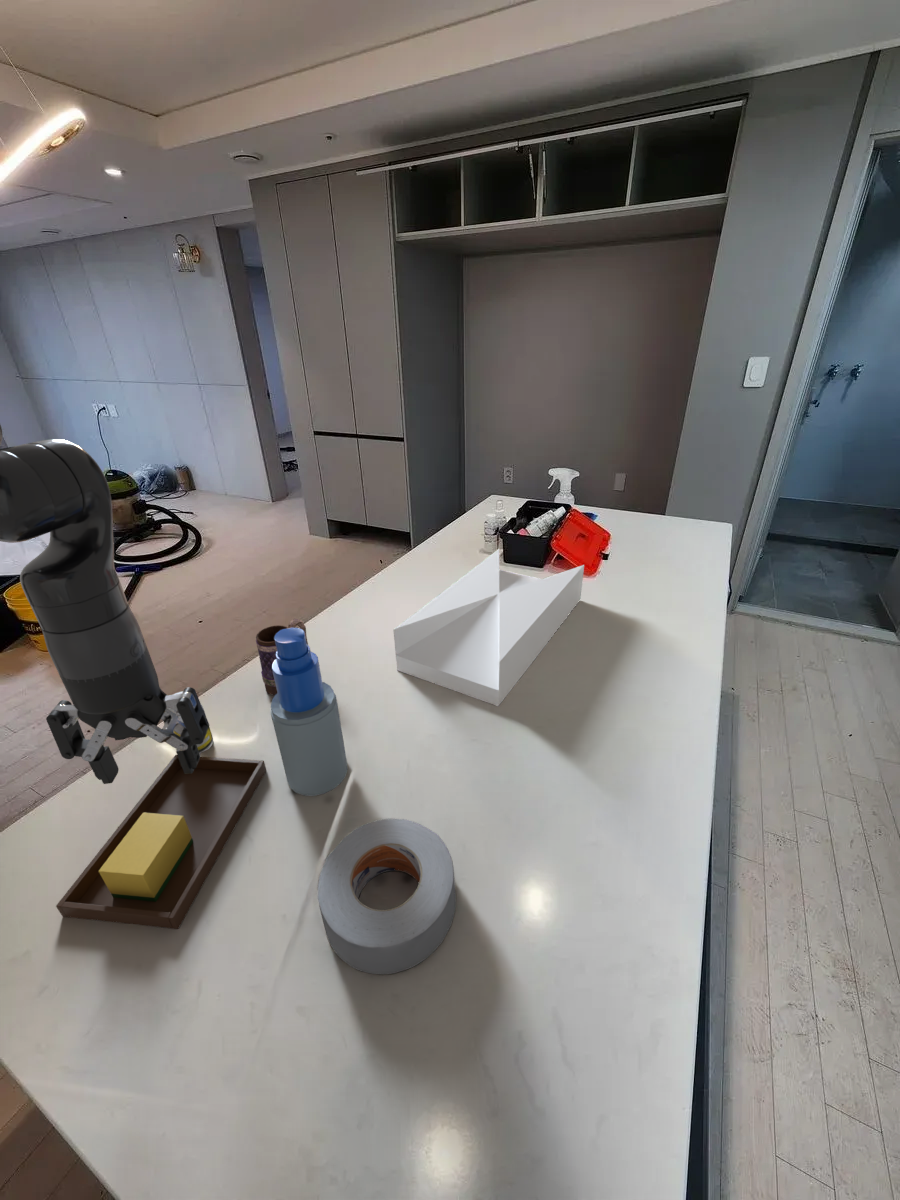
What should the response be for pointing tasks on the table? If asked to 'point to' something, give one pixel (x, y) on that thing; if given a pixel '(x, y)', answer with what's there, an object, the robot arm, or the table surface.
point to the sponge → (147, 857)
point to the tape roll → (401, 930)
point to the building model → (485, 629)
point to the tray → (211, 818)
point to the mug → (272, 651)
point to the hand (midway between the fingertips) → (151, 773)
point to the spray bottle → (306, 718)
